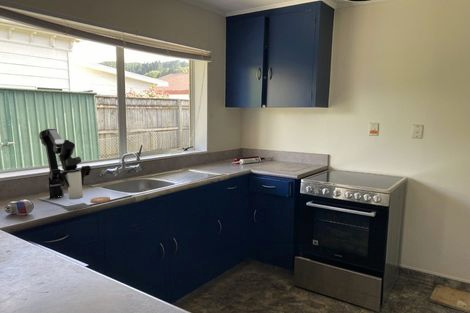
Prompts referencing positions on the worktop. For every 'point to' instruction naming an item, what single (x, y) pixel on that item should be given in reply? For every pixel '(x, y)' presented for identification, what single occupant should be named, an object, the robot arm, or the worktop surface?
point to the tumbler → (75, 185)
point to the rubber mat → (76, 206)
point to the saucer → (100, 199)
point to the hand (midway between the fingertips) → (75, 185)
